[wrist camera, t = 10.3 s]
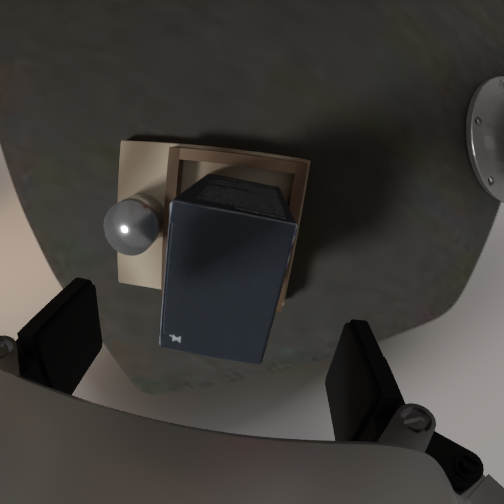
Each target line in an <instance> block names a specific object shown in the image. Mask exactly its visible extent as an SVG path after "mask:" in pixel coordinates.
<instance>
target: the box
mask: <svg viewBox="0 0 504 504" xmlns="http://www.w3.org/2000/svg"><path fill="white" fill-rule="evenodd" d="M169 208H170V213H169V227H168V241H167V249H166V262H165V277H164V287H163V299H162V312H161V326H160V337H159V344H160V345H161V347H162V348H168V349H173V350H178V351H183V352H188V353H193V354H198V355H203V356H208V357H213V358H219V359H224V360H230V361H237V362H244V363H253V364H261V362H262V360H263V356H264V353H265V349H266V345H267V341H268V338H269V334H270V330H271V327H272V323H273V320H274V316H275V312H276V308H277V305H278V301H279V298H280V293H281V289H282V286H283V282H284V278H285V274H286V270H287V265H288V262H289V258H290V254H291V250H292V246H293V242H294V238H295V234H296V230H297V223H296V222H295V220H294V217H293V216H292V213H291V211H290V209H289V207H288V205H287V203H286V201H285V198H284V196H283V194H282V192H281V190H280V188H279V187H275V186H270V185H266V184H261V183H255V182H251V181H246V180H240V179H236V178H230V177H225V176H220V175H215V174H207V175H205V176H204V177H203V178H201V179H200V180H199V181H197V182H196V183H194V184H193V185H192V186H191V187H189V188H188V189H186V190H185V191H184V192H182V193H181V194H180V195H178V196H177V197H176V198H174V199H173V200H172V201H171V202H170V207H169Z"/></svg>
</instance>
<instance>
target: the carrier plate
mask: <svg viewBox="0 0 504 504" xmlns="http://www.w3.org/2000/svg"><path fill="white" fill-rule="evenodd" d="M310 162H311V161H310V160H307V159H301V158H295V157H289V156H282V155H276V154H269V153H262V152H254V151H247V150H239V149H231V148H222V147H212V146H202V145H192V144H180V143H166V142H150V141H130V140H124V141H121V149H120V163H119V181H118V203H117V204H115V205H113V206H112V207H111V208H110V209H109V210H108V212H107V214H106V216H105V219H104V232H105V236H106V238H107V240H108V242H109V243H110V245H111V246H112V247H113V248H114V249H115V250H116V251H118V280H119V282H121V283H127V284H132V285H138V286H144V287H150V288H157V289H161V296H163V287H164V277H165V262H166V249H167V241H168V227H169V213H170V208H169V207H170V202H171V201H172V200H173V199H174V198H176V197H177V196H178V195H180V194H181V193H182V192H184V191H185V190H186V189H188V188H189V187H191V186H192V185H193V184H194V183H196V182H197V181H199V180H200V179H201V178H203V177H204V176H205V175H207V174H215V175H220V176H225V177H230V178H236V179H240V180H246V181H251V182H255V183H261V184H266V185H270V186H275V187H279V188H280V190H281V192H282V194H283V196H284V198H285V201H286V203H287V205H288V207H289V209H290V211H291V213H292V216H293V217H294V220H295V222H296V223H297V230H296V234H295V238H294V242H293V246H292V250H291V254H290V258H289V262H288V265H287V270H286V274H285V278H284V282H283V286H282V289H281V293H280V298H279V301H278V305H277V308H276V312H279V313H281V308H282V306H284V302H285V297H286V292H287V288H288V283H289V278H290V273H291V268H292V262H293V257H294V252H295V247H296V242H297V236H298V231H299V226H300V220H301V215H302V209H303V203H304V198H305V192H306V186H307V180H308V174H309V168H310Z"/></svg>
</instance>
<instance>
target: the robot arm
mask: <svg viewBox="0 0 504 504" xmlns="http://www.w3.org/2000/svg"><path fill="white" fill-rule="evenodd" d="M466 140H467V149H468V153H469V158H470V162H471V165H472V167H473V170H474V173H475V175H476V177H477V179H478V181H479V183H480V184H481V185H482V187H483V188H484V189H485V191H486V192H487V193H488V194H490V195H491V196H492V197H493V198H495V199H497V200H499V201H501V202H504V76H499V77H493V78H489V79H487V80H486V81H484V82H482V83H481V84H480V86H479V87H478V88H477V89H476V90H475V92H474V94H473V96H472V98H471V101H470V104H469V107H468V112H467V119H466ZM17 334H18V339H17V340H16V341H15V340H14V339H13V338H11V337H9V336H0V504H504V488H503V487H502V486H501V485H500V484H499V483H498V482H497V481H495V480H494V479H493V478H492V477H491V476H490V475H489V474H488V475H487V476H486V477H485V476H484V475H483V470H484V469H483V464H482V461H481V460H480V458H479V457H478V456H477V455H476V454H474V453H473V452H471V451H470V450H468V449H466V448H464V447H462V446H460V445H458V444H457V443H455V442H453V441H451V440H449V439H447V438H446V437H444V436H442V435H440V434H439V433H437V432H435V431H434V430H435V427H436V421H435V418H434V416H433V414H432V413H431V412H430V411H429V410H428V409H426V408H425V407H423V406H421V405H418V404H412V403H411V404H405V402H404V400H403V397H402V395H401V393H400V390H399V388H398V385H397V383H396V381H395V379H394V376H393V374H392V372H391V369H390V367H389V365H388V363H387V360H386V359H385V357H383V354H382V352H381V350H380V348H379V346H378V343H377V341H376V339H375V337H374V335H373V333H372V330H371V328H370V326H369V324H368V322H367V321H364V320H353V319H352V320H351V321H350V323H346V324H345V325H344V328H343V331H342V334H341V337H340V340H339V343H338V346H337V349H336V351H335V354H334V357H333V360H332V363H331V365H330V368H329V371H328V374H327V376H326V382H325V386H326V391H327V396H328V402H329V407H330V413H331V418H332V424H333V429H334V435H335V441H320V440H300V439H283V438H270V437H260V436H250V435H242V434H234V433H226V432H220V431H213V430H207V429H201V428H195V427H190V426H184V425H179V424H174V423H169V422H165V421H160V420H156V419H152V418H147V417H143V416H139V415H135V414H132V413H128V412H124V411H120V410H117V409H113V408H110V407H106V406H103V405H100V404H96V403H93V402H90V401H87V400H84V399H81V398H78V397H75V396H72V393H73V392H74V390H75V389H76V387H77V385H78V384H79V382H80V381H81V379H82V377H83V376H84V374H85V373H86V371H87V370H88V368H89V367H90V365H91V364H92V362H93V361H94V359H95V357H96V356H97V354H98V353H99V352H100V350H101V348H102V336H101V329H100V321H99V314H98V305H97V296H96V288H95V285H93V284H92V282H91V281H90V280H87V279H83V278H75V279H74V280H73V281H72V282H71V283H70V284H69V285H67V286H66V287H65V288H64V289H63V290H62V291H61V292H60V293H59V294H58V295H57V296H55V297H54V298H53V299H52V300H51V301H50V302H49V303H48V304H47V305H46V306H45V307H44V308H43V309H42V310H41V311H40V312H39V313H37V314H36V316H34V317H33V318H32V319H31V320H30V321H29V322H28V323H27V324H26V325H25V326H24V327H23V328H22V329H21V330H20V331H19V332H18V333H17Z"/></svg>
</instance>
